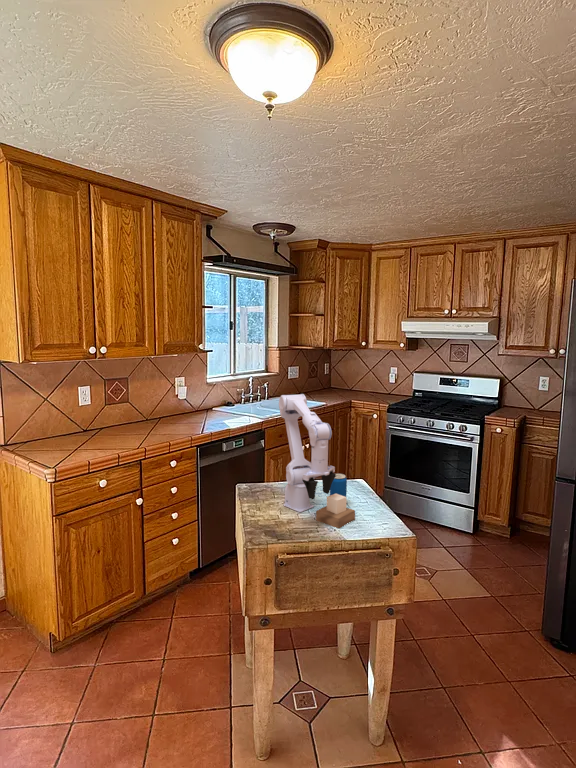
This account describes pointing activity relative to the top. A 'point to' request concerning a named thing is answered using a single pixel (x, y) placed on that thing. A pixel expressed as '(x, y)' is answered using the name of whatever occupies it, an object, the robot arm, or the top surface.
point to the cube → (336, 503)
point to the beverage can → (339, 485)
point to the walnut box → (335, 517)
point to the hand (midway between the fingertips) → (318, 495)
